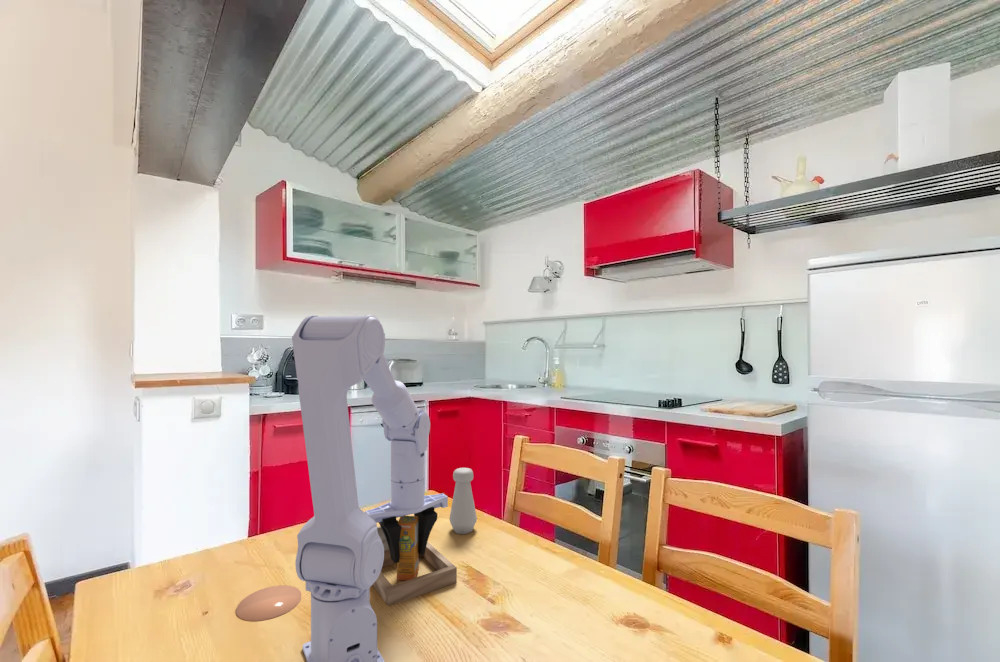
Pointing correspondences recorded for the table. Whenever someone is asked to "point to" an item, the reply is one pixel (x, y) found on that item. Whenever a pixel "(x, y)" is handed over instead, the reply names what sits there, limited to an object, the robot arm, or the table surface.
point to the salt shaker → (463, 502)
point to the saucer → (268, 603)
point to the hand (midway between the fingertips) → (408, 556)
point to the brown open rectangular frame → (420, 584)
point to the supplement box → (408, 548)
